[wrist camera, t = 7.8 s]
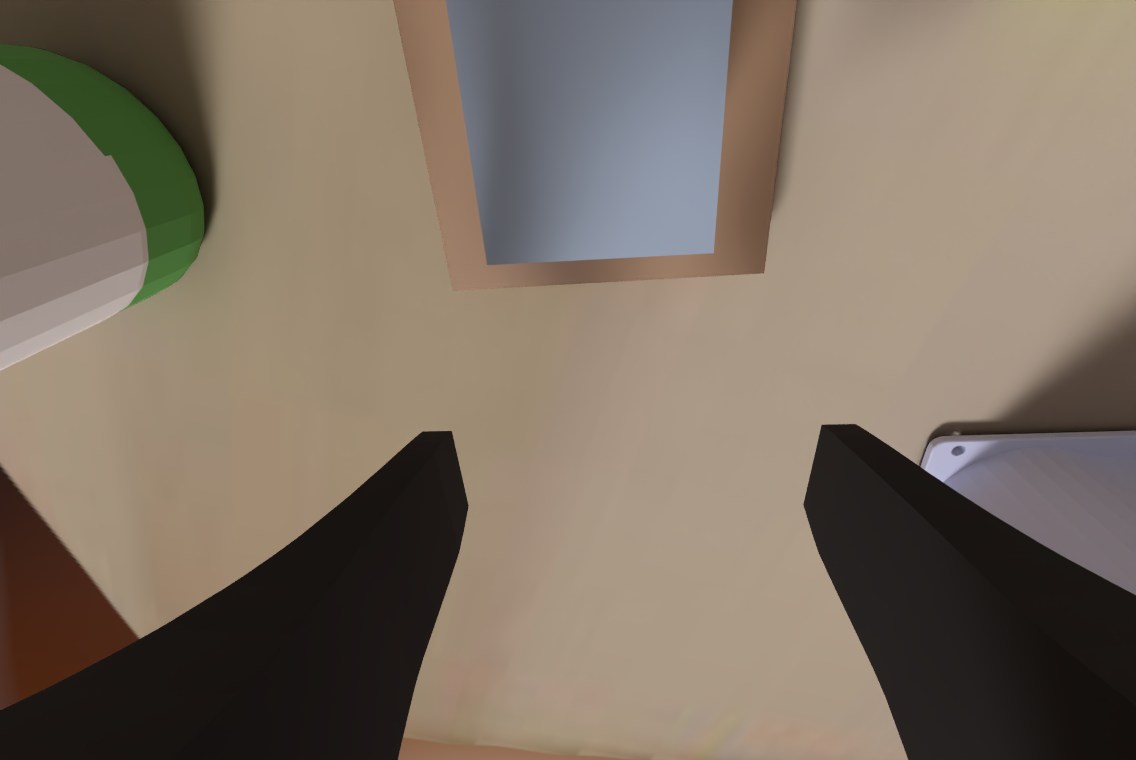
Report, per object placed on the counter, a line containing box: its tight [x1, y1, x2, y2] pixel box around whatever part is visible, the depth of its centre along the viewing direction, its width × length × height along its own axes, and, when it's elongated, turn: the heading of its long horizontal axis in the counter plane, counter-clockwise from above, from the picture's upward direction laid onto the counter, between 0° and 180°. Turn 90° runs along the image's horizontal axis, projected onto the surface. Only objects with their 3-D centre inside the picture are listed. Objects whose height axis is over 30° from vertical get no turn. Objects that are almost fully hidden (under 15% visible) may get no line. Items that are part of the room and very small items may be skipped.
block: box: [446, 0, 733, 265], centre depth 11 cm, size 4×4×6 cm
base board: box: [393, 0, 797, 291], centre depth 15 cm, size 10×10×2 cm
